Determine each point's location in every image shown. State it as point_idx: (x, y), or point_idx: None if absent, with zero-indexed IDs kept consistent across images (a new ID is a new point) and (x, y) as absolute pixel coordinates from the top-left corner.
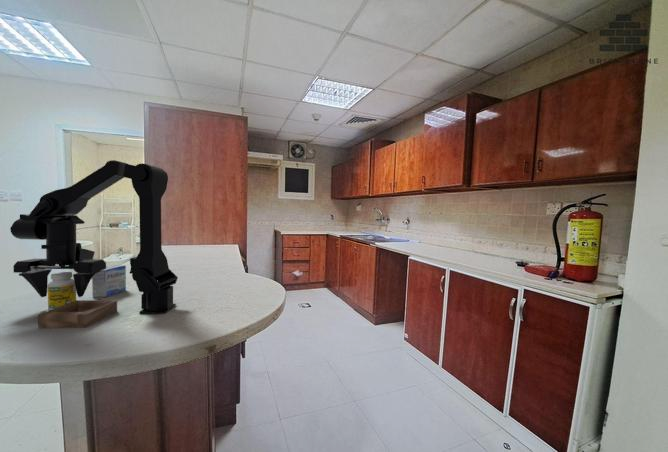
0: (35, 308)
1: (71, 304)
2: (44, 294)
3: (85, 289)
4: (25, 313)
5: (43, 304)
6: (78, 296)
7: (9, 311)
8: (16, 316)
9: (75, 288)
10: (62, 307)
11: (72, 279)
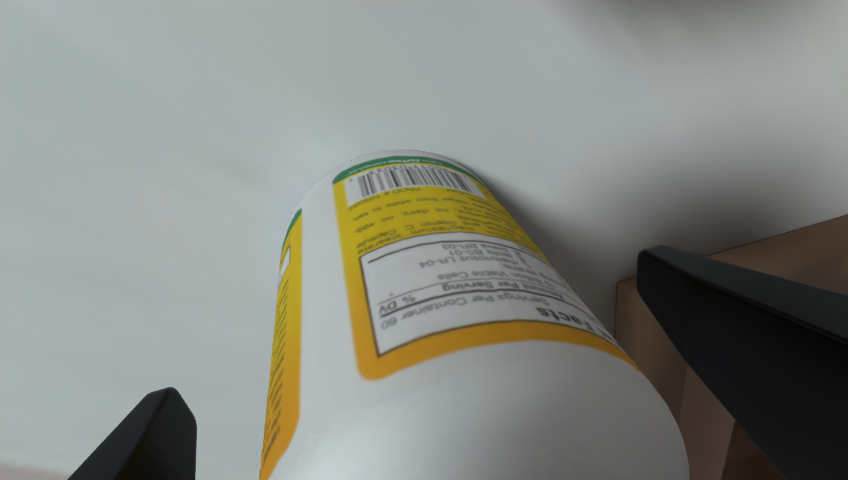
0: (139, 336)
1: (721, 422)
2: (177, 430)
3: (759, 282)
4: (239, 422)
5: (16, 233)
6: (645, 296)
7: (10, 446)
8: (260, 466)
9: (592, 313)
10: (704, 473)
11: (638, 478)
